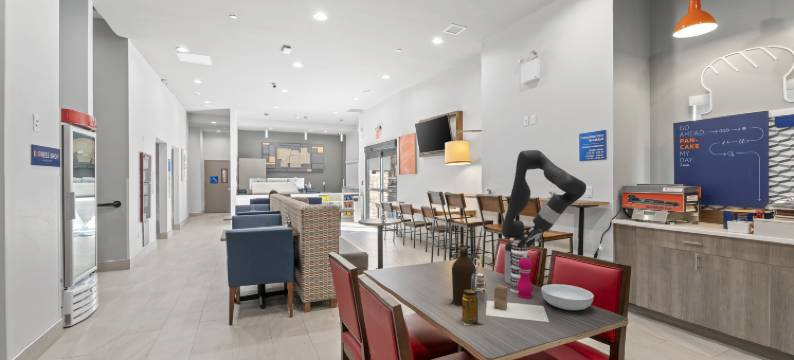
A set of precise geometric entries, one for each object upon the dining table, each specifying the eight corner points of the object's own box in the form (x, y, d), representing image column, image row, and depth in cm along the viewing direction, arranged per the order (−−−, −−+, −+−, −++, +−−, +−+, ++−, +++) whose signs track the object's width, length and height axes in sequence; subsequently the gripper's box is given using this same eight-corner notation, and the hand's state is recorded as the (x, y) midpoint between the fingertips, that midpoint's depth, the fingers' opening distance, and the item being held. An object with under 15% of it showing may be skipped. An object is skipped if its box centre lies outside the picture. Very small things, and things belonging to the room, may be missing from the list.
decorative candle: (507, 287, 186) (507, 239, 186) (525, 287, 186) (526, 239, 185) (512, 293, 177) (512, 242, 177) (531, 293, 177) (532, 242, 176)
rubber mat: (487, 301, 165) (487, 300, 165) (543, 306, 159) (543, 306, 159) (485, 316, 148) (485, 315, 148) (549, 322, 141) (549, 321, 141)
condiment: (459, 318, 145) (459, 288, 145) (479, 317, 146) (480, 288, 146) (464, 325, 138) (464, 294, 138) (485, 325, 139) (486, 293, 139)
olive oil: (449, 306, 159) (450, 249, 158) (453, 298, 169) (454, 245, 168) (474, 309, 155) (475, 251, 155) (476, 301, 165) (477, 246, 165)
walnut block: (495, 305, 159) (495, 285, 158) (507, 307, 157) (507, 286, 156) (494, 308, 155) (494, 287, 155) (505, 310, 153) (505, 289, 153)
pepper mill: (515, 298, 170) (515, 255, 169) (517, 293, 176) (518, 252, 176) (531, 300, 166) (532, 257, 166) (533, 296, 173) (534, 254, 172)
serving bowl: (552, 315, 149) (552, 298, 149) (534, 298, 170) (534, 283, 170) (603, 316, 149) (603, 299, 149) (579, 299, 170) (579, 284, 170)
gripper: (545, 212, 158) (523, 240, 164) (533, 211, 148) (509, 241, 153) (559, 223, 154) (536, 251, 159) (548, 223, 143) (523, 253, 149)
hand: (523, 246), depth 156 cm, fingers open, 8 cm apart
